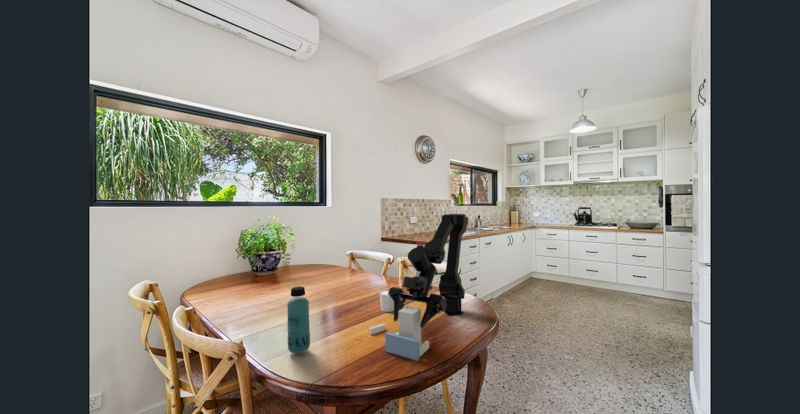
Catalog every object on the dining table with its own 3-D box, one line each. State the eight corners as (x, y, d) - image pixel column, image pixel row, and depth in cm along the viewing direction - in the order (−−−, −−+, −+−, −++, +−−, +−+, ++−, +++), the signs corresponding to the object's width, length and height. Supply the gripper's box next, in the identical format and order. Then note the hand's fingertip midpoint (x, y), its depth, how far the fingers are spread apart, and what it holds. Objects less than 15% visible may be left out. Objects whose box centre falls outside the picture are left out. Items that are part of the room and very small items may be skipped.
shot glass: (394, 313, 129) (394, 295, 128) (377, 311, 130) (377, 294, 130) (398, 306, 135) (397, 290, 135) (382, 306, 137) (381, 289, 136)
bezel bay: (400, 340, 105) (399, 323, 105) (430, 348, 99) (430, 330, 99) (385, 351, 98) (385, 333, 97) (417, 360, 92) (417, 342, 92)
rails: (383, 329, 114) (383, 323, 114) (401, 338, 106) (401, 332, 106) (369, 333, 110) (369, 328, 110) (386, 344, 102) (386, 338, 102)
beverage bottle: (290, 348, 101) (288, 284, 100) (312, 347, 101) (310, 284, 100) (285, 359, 94) (283, 291, 93) (308, 357, 95) (306, 290, 94)
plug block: (407, 343, 103) (406, 305, 102) (421, 346, 100) (420, 308, 100) (399, 349, 99) (398, 311, 98) (413, 353, 96) (412, 314, 96)
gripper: (390, 262, 107) (371, 306, 98) (442, 269, 97) (426, 317, 88) (403, 280, 114) (386, 322, 105) (452, 288, 104) (438, 335, 95)
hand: (407, 324), depth 98 cm, fingers open, 9 cm apart
